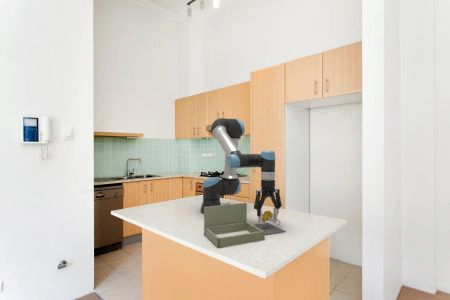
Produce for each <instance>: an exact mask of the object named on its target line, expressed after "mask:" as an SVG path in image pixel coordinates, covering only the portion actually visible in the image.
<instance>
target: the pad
mask: <svg viewBox="0 0 450 300" xmlns="http://www.w3.org/2000/svg"><path fill="white" fill-rule="evenodd" d="M253 225H254V226H256V227H257V228H259V229H261V230H263V231H265V236H271V235H276V234H282V233H286V230H284V229H282V228H280V227H278V226H277V225H274V224H271V223H269V222H262V223H256V224H253Z"/></svg>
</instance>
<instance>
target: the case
mask: <svg viewBox="0 0 450 300" xmlns="http://www.w3.org/2000/svg"><path fill="white" fill-rule="evenodd" d="M247 205H248V203H247V202H242V203H241V202H240V203H230V201H229V202H222V203H221V205H219V206H209V207H204V214H203V236H205V238H207V239H208V240H209V241H210V242H211V243H212V244H213V245H214V246H215V247H216V248H217V249H221V248H227V247H231V246H237V245H238V246H239V245H244V244H248V243H255V242H259V241H260V242H261V241H266V240H265V239H266V238H265V237H266V235H265V231H263V230H261V229H259V228H257V227H256V226H254V225H255V224H252V223H250V222H248V221H247V219H248V218H247V216H248V215H247V213H248V209H247V208H248V206H247ZM241 231H242V232H243V231H247V232H248V233H241V234H235V235H229V236H222V237H219V236H218V235H224V234H229V233H236V232H241Z"/></svg>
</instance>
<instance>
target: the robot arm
mask: <svg viewBox="0 0 450 300" xmlns="http://www.w3.org/2000/svg"><path fill="white" fill-rule="evenodd" d="M245 130H246V129H245V124H244V122H243V120H241V119H240V118H239V119H238V118H225V117H223V118H222V117H220V118H216V119H215V120H214V121H213V122H212V124H211V126H210V132H211V135H212V136H213V138H214V139H216V140H217V142H218V143H219V145H220V146H221V149H222V150H223V151H224V154H225V155H224V170H223V174H222V175H221V178H220V177H218V176H213V177H208V178H205V179H204V180H203V181H202V203H201V207H200V213H201V214H203V215H204V207H209V206H219V205H222V203H221V197H224V196H225V197H226V196H235V195H237V194H239V193H240V191H241V188H242V183H241V179H240V178H239V176H238V175H237V169H242V168H245V169H246V168H248V169H249V168H260V179H261V180H260V187H261V188H260V189H259V190H255V199H254V205H253V210H256V216H257V219H258V221H257V222H258V223H259V224H262V223H263V222H262V214H263V210H262V209H263V205H264V203H265V201H266V199H267V198H269V199H270V200H271V202H272V204H273V206H274V207H273V212H272V214H273V218H272V219H275V220H278V215H279V209H281V207H283V206H282V205H283V204H282V200H281V194H280V191H281V190H280V189H278V188H275V187H276V152H275V151H274V150H262V151H261V152H260V153H249V154H248V153H242V152H241V151H240V150H239V141H240V140H241V139H242V138H241V137H243V136H244V134H245Z"/></svg>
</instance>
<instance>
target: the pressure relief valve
mask: <svg viewBox="0 0 450 300" xmlns="http://www.w3.org/2000/svg"><path fill="white" fill-rule="evenodd" d="M266 221H267V222H268V221H269V222H272V223H274V224H275V226H280V225H281V220H280V219H277V220H275V219H273V212H272V211H271V210H266V211H264V212H263V213H262V223H267V222H266ZM277 222H278V223H277Z"/></svg>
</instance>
